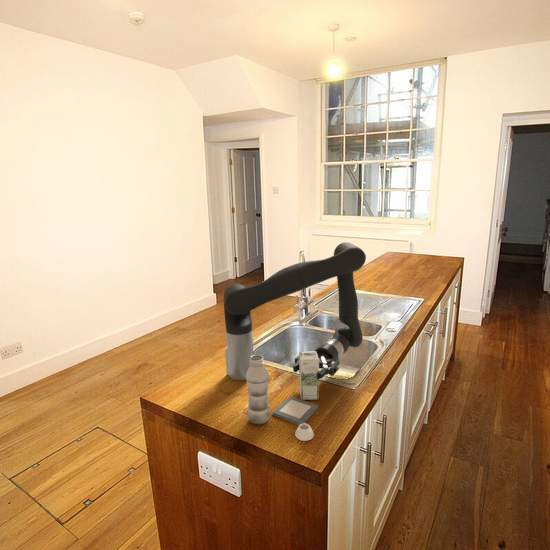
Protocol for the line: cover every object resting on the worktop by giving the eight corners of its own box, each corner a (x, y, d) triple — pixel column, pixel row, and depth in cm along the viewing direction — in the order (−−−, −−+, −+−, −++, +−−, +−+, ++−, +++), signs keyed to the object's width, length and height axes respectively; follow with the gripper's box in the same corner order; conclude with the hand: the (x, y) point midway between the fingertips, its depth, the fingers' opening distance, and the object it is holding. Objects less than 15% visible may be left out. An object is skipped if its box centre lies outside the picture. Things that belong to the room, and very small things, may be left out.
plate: (272, 415, 114) (272, 411, 114) (290, 399, 122) (290, 396, 122) (301, 426, 108) (301, 422, 108) (318, 408, 116) (318, 405, 116)
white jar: (291, 437, 104) (306, 444, 101) (291, 427, 104) (306, 435, 100) (302, 427, 108) (317, 435, 105) (302, 418, 107) (317, 425, 104)
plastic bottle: (252, 412, 116) (249, 351, 111) (273, 415, 114) (271, 354, 109) (244, 425, 110) (240, 361, 105) (266, 429, 108) (264, 364, 103)
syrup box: (316, 390, 126) (316, 350, 122) (319, 400, 120) (318, 358, 117) (299, 391, 126) (298, 350, 122) (301, 401, 120) (300, 359, 117)
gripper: (310, 338, 135) (286, 356, 122) (348, 347, 128) (326, 367, 114) (311, 358, 137) (286, 377, 124) (348, 367, 129) (326, 390, 116)
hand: (305, 373), depth 119 cm, fingers closed on syrup box, 8 cm apart
